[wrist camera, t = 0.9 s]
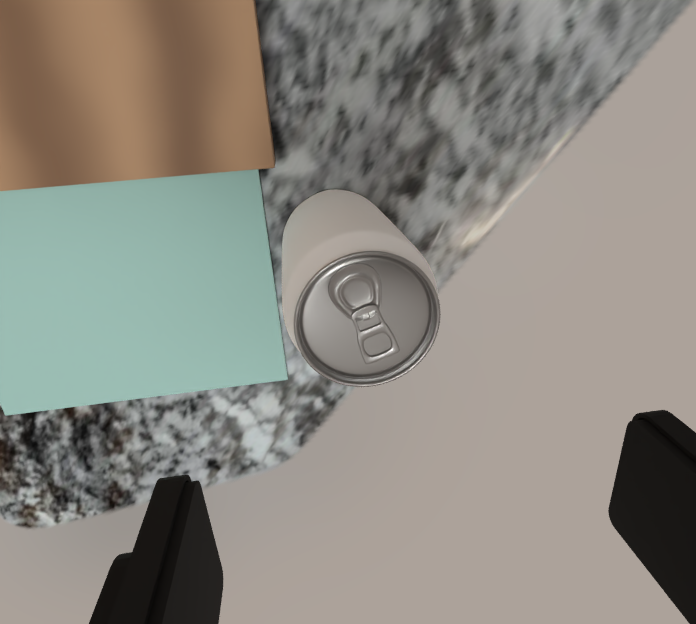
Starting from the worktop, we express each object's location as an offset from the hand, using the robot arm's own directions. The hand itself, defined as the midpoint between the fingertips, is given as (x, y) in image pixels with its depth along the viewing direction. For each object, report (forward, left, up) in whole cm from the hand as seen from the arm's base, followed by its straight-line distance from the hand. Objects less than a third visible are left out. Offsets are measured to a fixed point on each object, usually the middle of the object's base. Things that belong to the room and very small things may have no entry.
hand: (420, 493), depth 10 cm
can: (0, 0, -21) cm, 21 cm away
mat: (+13, +2, -20) cm, 24 cm away
